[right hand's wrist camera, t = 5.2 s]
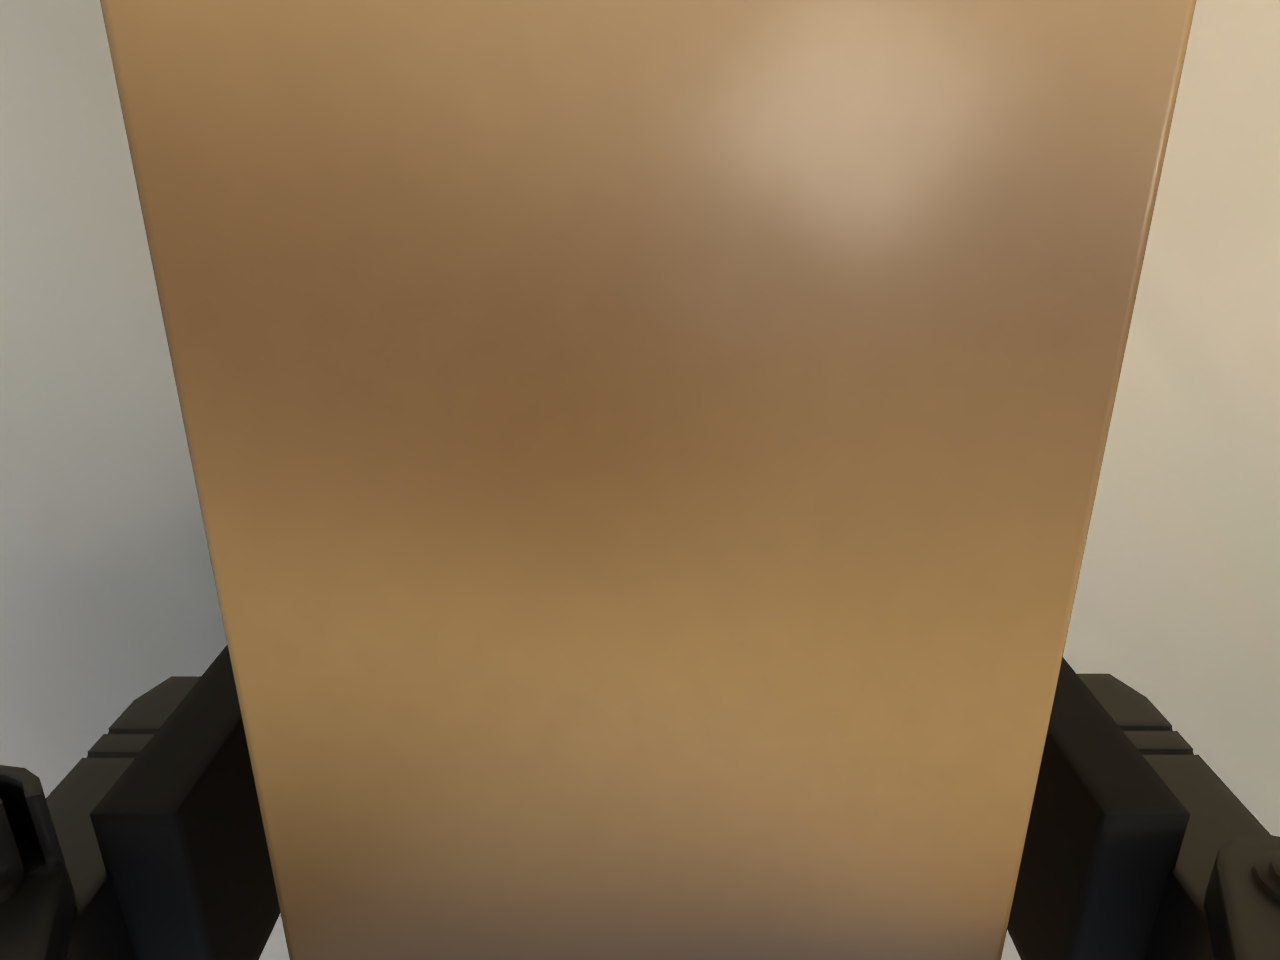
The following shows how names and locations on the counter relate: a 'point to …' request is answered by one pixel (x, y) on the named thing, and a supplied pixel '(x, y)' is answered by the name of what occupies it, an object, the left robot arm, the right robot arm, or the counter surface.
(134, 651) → the counter surface
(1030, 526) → the beam
